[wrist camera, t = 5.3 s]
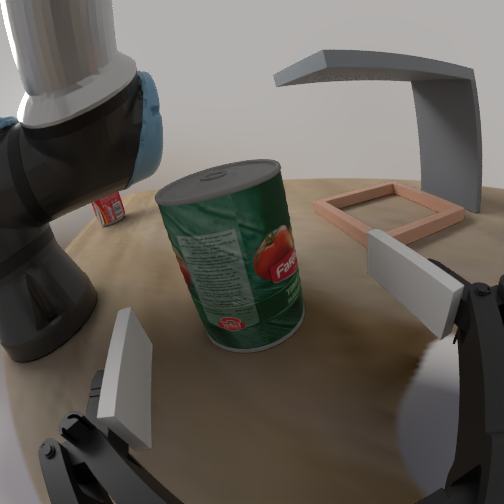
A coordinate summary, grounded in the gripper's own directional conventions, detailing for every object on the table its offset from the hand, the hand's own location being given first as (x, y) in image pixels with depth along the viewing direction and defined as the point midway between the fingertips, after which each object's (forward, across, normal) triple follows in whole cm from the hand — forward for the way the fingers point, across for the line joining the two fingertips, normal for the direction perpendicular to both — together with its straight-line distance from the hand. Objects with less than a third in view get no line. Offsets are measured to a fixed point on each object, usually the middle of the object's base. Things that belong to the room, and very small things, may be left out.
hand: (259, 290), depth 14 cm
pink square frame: (+14, +20, -6) cm, 25 cm away
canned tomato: (+5, 0, -6) cm, 8 cm away
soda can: (+52, -23, -6) cm, 58 cm away
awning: (+13, +21, -6) cm, 25 cm away
